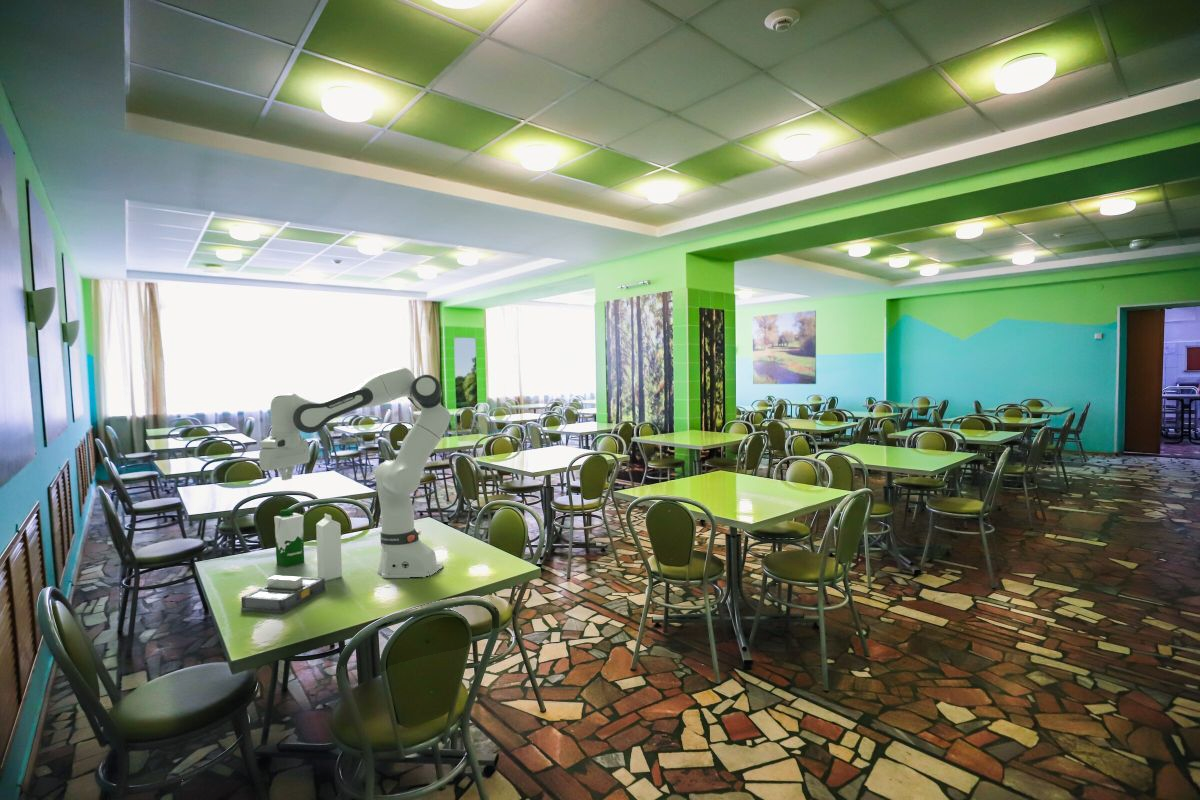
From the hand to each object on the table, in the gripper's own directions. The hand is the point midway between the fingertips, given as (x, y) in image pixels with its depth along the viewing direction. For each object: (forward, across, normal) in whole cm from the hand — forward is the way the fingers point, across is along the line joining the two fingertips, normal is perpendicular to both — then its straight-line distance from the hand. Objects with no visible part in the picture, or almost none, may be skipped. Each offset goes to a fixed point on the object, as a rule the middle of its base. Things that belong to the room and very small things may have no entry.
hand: (286, 479), depth 198 cm
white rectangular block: (+33, +20, +15) cm, 41 cm away
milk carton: (+34, -12, -10) cm, 38 cm away
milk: (+34, -1, +15) cm, 37 cm away
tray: (+34, +20, +15) cm, 42 cm away
